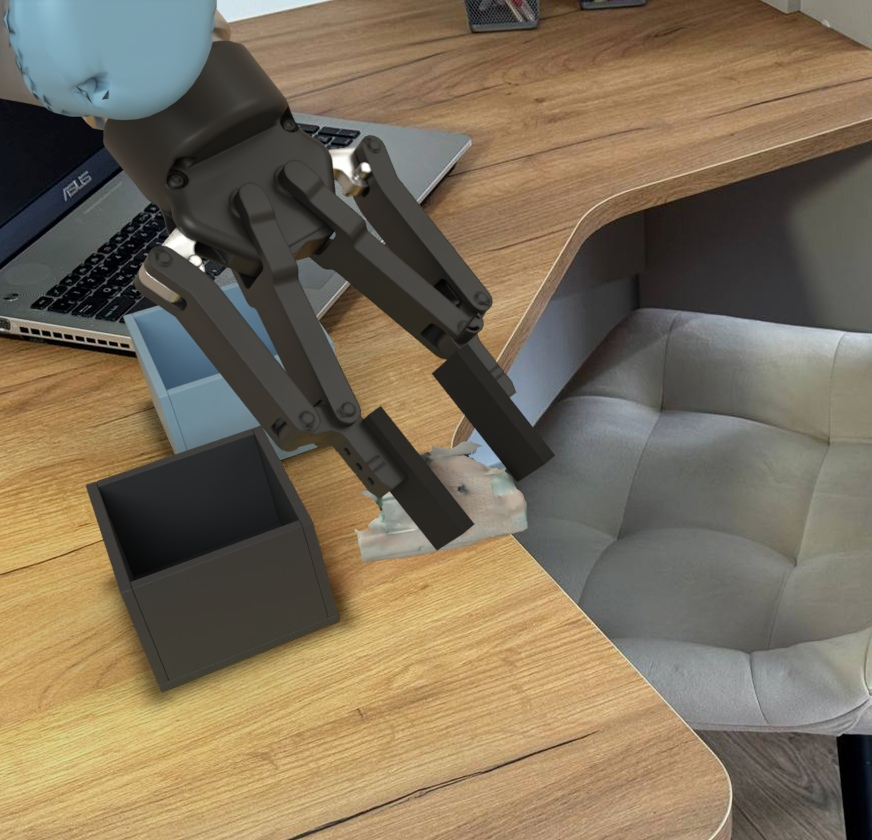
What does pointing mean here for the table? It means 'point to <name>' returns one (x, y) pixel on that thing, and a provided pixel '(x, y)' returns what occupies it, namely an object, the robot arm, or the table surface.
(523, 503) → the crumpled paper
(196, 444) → the paper bin
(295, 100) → the table surface
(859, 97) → the table surface
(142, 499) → the waste bin
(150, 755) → the table surface
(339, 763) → the table surface
